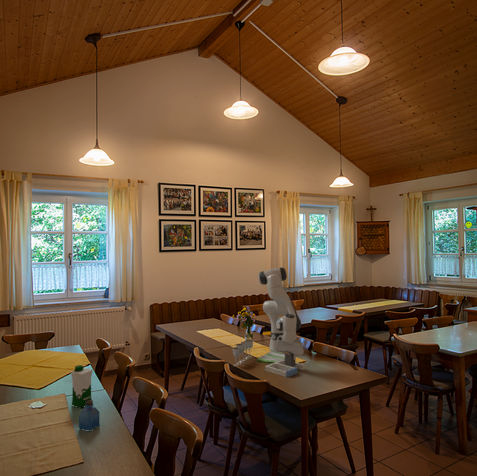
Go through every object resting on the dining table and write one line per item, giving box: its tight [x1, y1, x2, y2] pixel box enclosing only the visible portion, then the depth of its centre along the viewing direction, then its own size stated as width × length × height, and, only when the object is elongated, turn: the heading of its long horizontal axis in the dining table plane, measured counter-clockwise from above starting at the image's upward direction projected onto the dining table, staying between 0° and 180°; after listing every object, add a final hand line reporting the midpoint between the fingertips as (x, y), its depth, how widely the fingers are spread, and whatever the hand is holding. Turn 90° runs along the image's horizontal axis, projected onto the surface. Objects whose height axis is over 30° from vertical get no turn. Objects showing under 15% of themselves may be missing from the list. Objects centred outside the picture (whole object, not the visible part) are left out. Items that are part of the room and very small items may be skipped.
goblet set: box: [232, 339, 254, 367], centre depth 274 cm, size 28×6×13 cm, turn 154°
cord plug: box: [285, 351, 297, 368], centre depth 255 cm, size 5×5×10 cm
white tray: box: [264, 360, 306, 378], centre depth 251 cm, size 20×19×4 cm
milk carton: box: [70, 364, 94, 408], centre depth 198 cm, size 9×9×20 cm
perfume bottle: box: [78, 400, 100, 431], centre depth 173 cm, size 6×6×12 cm
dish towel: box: [256, 350, 285, 365], centre depth 277 cm, size 17×23×4 cm
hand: (290, 358), depth 255 cm, fingers closed on cord plug, 5 cm apart
